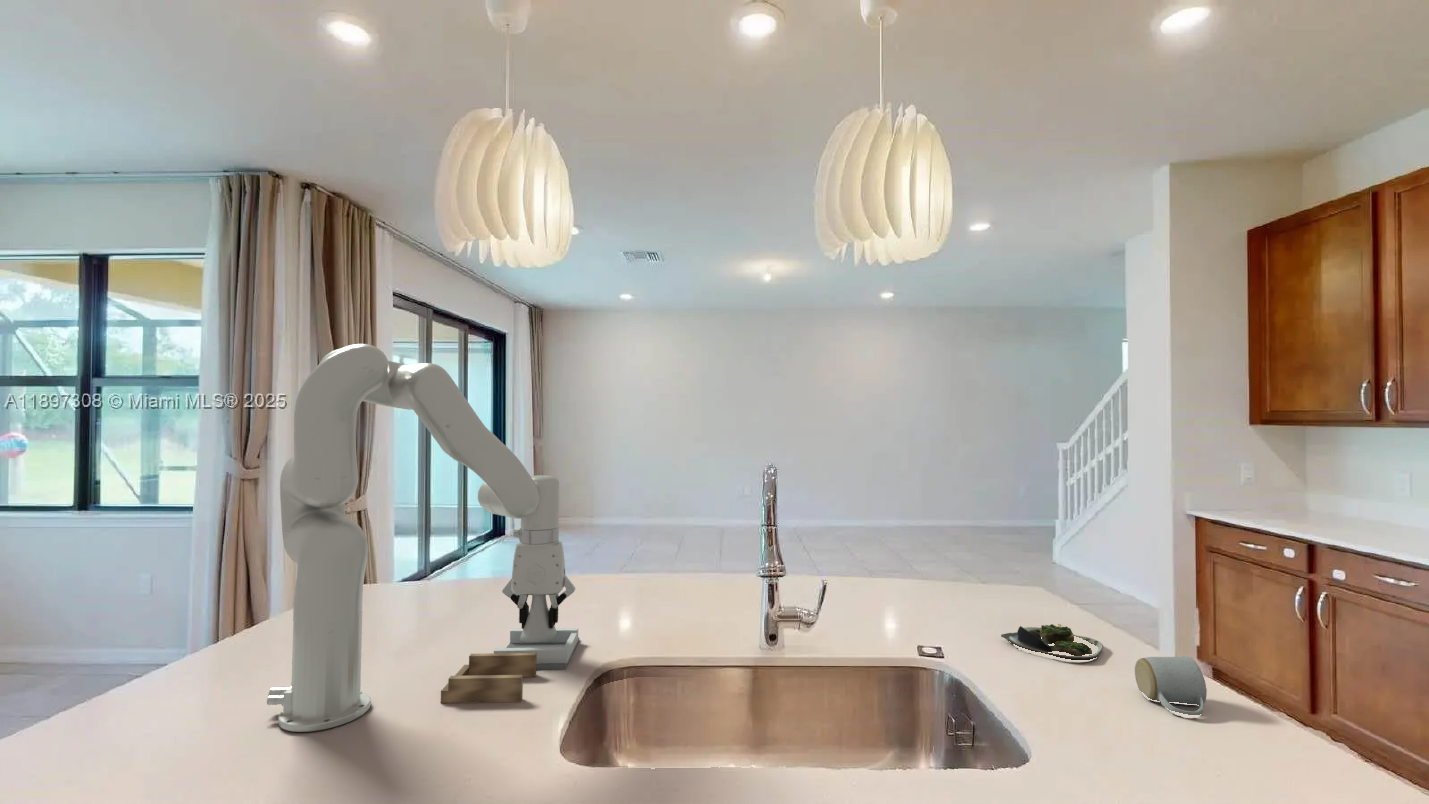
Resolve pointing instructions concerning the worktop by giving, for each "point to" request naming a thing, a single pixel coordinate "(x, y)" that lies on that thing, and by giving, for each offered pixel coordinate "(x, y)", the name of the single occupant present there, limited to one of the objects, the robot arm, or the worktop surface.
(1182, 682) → the ceramic mug
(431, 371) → the robot arm
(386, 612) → the worktop surface
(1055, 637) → the salad plate
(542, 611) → the flask
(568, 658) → the dock
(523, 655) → the wooden u-shaped bracket
